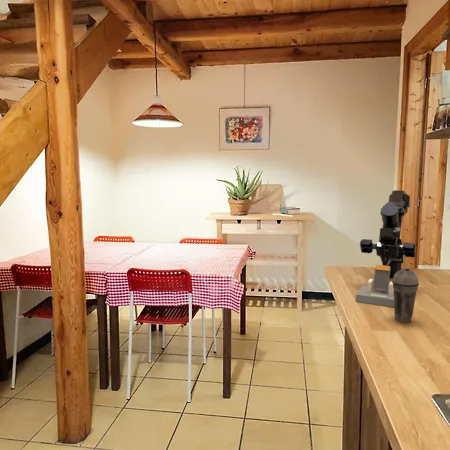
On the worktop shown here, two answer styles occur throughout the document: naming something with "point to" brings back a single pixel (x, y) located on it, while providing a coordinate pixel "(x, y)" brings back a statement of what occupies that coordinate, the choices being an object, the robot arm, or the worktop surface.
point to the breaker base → (376, 295)
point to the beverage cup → (404, 293)
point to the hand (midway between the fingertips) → (384, 267)
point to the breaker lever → (381, 278)
